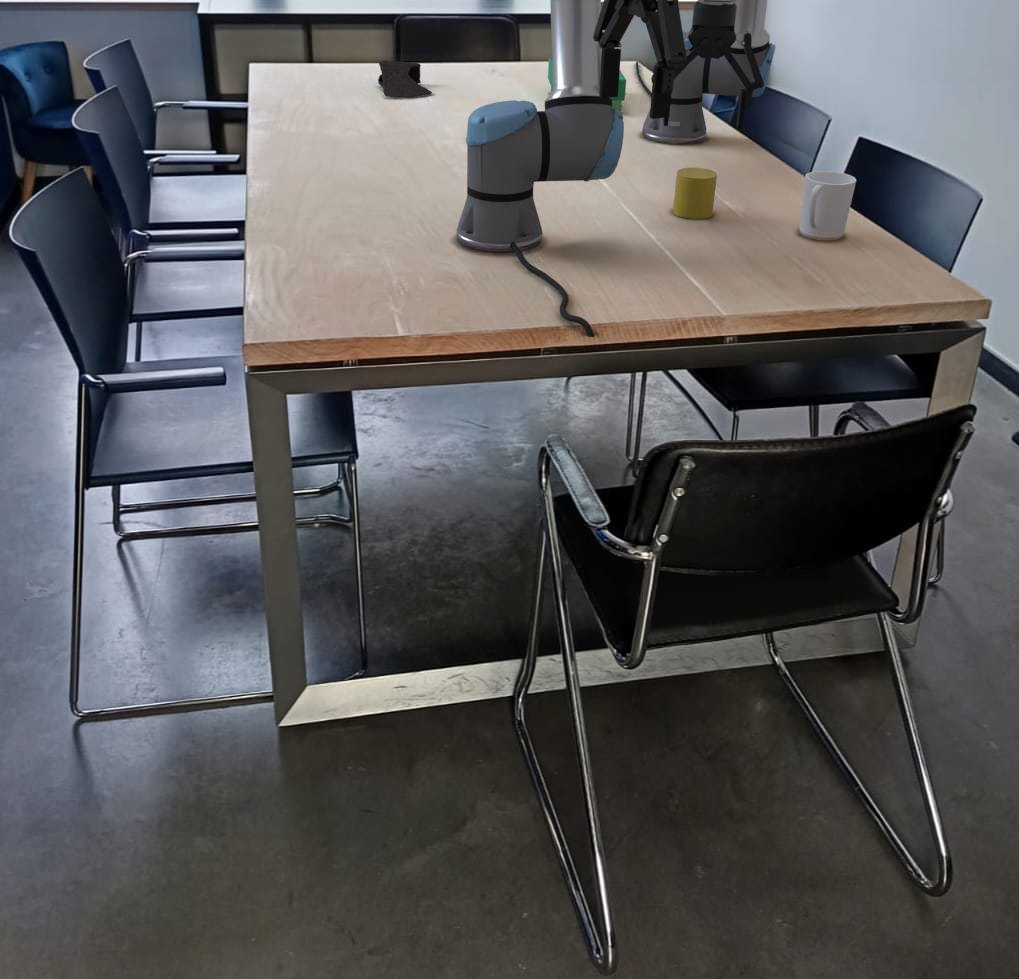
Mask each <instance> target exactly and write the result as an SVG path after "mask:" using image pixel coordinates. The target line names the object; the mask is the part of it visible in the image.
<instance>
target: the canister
mask: <svg viewBox="0 0 1019 979" xmlns="http://www.w3.org/2000/svg"><path fill="white" fill-rule="evenodd" d="M717 178H718V173H717V172H716V171H715V170H712V169H708V168H703V167H684V168H680V169H677V171H676V177H675V187H674V188H675V189H674V198H673V209H672V213H673V215H675V216H676V217H679V218H684V219H690V220H702V219H704V220H705V219H708V218H711V217H712V216H713V212H714V205H715V204H714V203H715V195H716V187H717Z"/></svg>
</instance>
